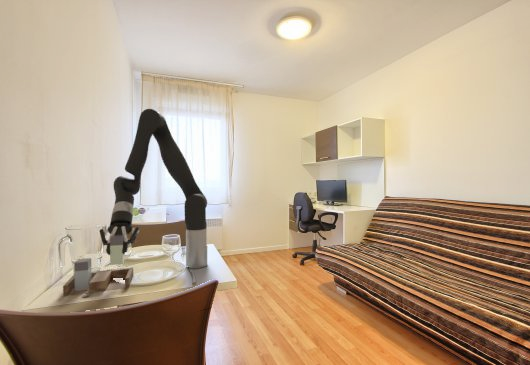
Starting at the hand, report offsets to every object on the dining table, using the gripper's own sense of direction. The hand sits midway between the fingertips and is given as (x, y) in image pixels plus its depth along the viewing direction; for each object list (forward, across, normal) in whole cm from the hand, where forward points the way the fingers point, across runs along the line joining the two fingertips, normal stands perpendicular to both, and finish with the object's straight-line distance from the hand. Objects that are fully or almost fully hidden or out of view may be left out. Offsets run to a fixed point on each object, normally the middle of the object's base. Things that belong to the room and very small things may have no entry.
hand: (116, 253), depth 92 cm
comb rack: (+8, -5, +11) cm, 14 cm away
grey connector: (+7, -11, +10) cm, 16 cm away
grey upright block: (+1, 0, +4) cm, 5 cm away
